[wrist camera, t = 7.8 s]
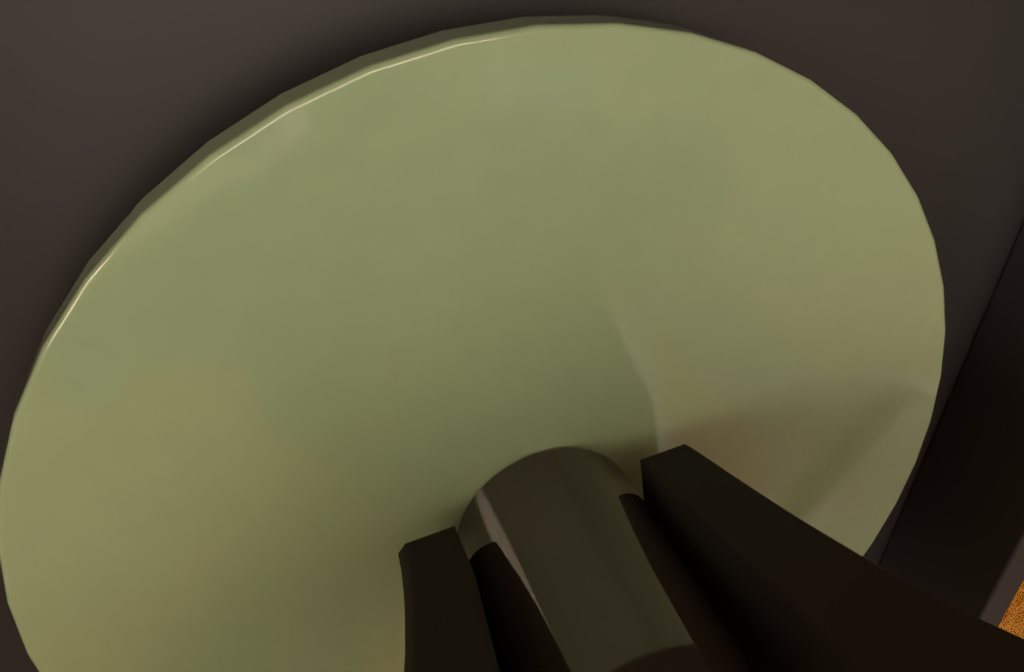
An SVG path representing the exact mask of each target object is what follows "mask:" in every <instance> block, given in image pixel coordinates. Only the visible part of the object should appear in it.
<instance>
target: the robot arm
mask: <svg viewBox="0 0 1024 672" xmlns="http://www.w3.org/2000/svg"><path fill="white" fill-rule="evenodd" d="M640 464H641V475H642V486H643V497H644V502H645V504H646V505H647V506H648V508H649V509H650V511H651V512H652V514H653V515H654V517H655V518H656V520H657V521H658V523H659V524H660V526H661V527H662V528H663V530H664V531H665V533H666V534H667V536H668V537H669V539H670V540H671V542H672V543H673V545H674V546H675V548H676V549H677V550H678V552H679V553H680V555H681V556H682V558H683V559H684V561H685V562H686V564H687V565H688V567H689V568H690V570H691V571H692V572H693V574H694V575H695V577H696V578H697V580H698V581H699V583H700V584H701V586H702V587H703V589H704V590H705V592H706V593H707V595H708V596H709V597H710V599H711V600H712V602H713V603H714V605H715V606H716V608H717V609H718V611H719V612H720V614H721V615H722V617H723V618H724V619H725V621H726V622H727V624H728V625H729V627H730V628H731V630H732V631H733V633H734V634H735V636H736V637H737V639H738V640H739V641H740V643H741V644H742V646H743V647H744V649H745V650H746V652H747V653H748V655H749V656H750V658H751V659H752V661H753V662H754V663H755V665H756V666H757V668H758V669H759V671H760V672H1024V639H1022V638H1020V637H1017V636H1015V635H1013V634H1011V633H1009V632H1007V631H1005V630H1002V629H1000V628H998V627H996V626H994V625H992V624H990V623H988V622H985V621H983V620H981V619H979V618H977V617H975V616H973V615H971V614H969V613H967V612H965V611H963V610H961V609H959V608H957V607H955V606H953V605H951V604H949V603H947V602H945V601H943V600H941V599H940V598H938V597H936V596H934V595H932V594H930V593H928V592H926V591H924V590H922V589H921V588H919V587H917V586H915V585H913V584H911V583H910V582H908V581H906V580H904V579H902V578H900V577H898V576H897V575H895V574H893V573H891V572H889V571H887V570H886V569H884V568H882V567H880V566H879V565H877V564H875V563H873V562H872V561H870V560H868V559H866V558H865V557H863V556H861V555H859V554H858V553H856V552H854V551H852V550H851V549H849V548H848V547H846V546H844V545H843V544H841V543H839V542H838V541H836V540H834V539H833V538H831V537H829V536H828V535H826V534H824V533H823V532H821V531H819V530H818V529H816V528H814V527H813V526H811V525H809V524H808V523H806V522H804V521H803V520H801V519H800V518H798V517H796V516H795V515H793V514H792V513H790V512H788V511H787V510H785V509H784V508H782V507H781V506H779V505H778V504H776V503H774V502H773V501H771V500H770V499H768V498H767V497H765V496H764V495H762V494H761V493H759V492H757V491H756V490H754V489H753V488H751V487H750V486H748V485H747V484H745V483H744V482H742V481H741V480H739V479H738V478H736V477H735V476H733V475H732V474H730V473H729V472H727V471H726V470H724V469H723V468H721V467H720V466H718V465H717V464H715V463H714V462H712V461H711V460H709V459H708V458H706V457H705V456H703V455H702V454H700V453H699V452H697V451H696V450H694V449H693V448H691V447H689V446H687V445H686V444H683V445H680V446H678V447H675V448H672V449H669V450H666V451H664V452H661V453H658V454H655V455H652V456H649V457H647V458H644V459H641V460H640ZM398 557H399V562H400V567H401V573H402V581H403V591H404V608H405V664H404V672H500V668H499V664H498V660H497V657H496V653H495V649H494V645H493V641H492V637H491V634H490V630H489V626H488V622H487V619H486V615H485V611H484V607H483V604H482V600H481V596H480V592H479V589H478V585H477V581H476V578H475V574H474V571H473V569H472V566H471V564H470V562H469V559H468V557H467V554H466V552H465V549H464V547H463V545H462V542H461V540H460V538H459V536H458V533H457V531H456V529H455V526H453V527H450V528H448V529H445V530H442V531H439V532H436V533H434V534H431V535H428V536H425V537H422V538H419V539H417V540H414V541H411V542H408V543H405V545H404V546H403V547H402V549H401V550H400V552H399V553H398Z"/></svg>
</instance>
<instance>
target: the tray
mask: <svg viewBox="0 0 1024 672" xmlns="http://www.w3.org/2000/svg"><path fill="white" fill-rule="evenodd" d="M580 15H604V16H612V17H620V18H627V19H635V20H642V21H650V22H657V23H665V24H672V25H676V26H679V27H682V28H686V29H689V30H692V31H695V32H699V33H702V34H705V35H709V36H712V37H715V38H719V39H722V40H725V41H729V42H732V43H735V44H738V45H741V46H743V47H746V48H749V49H751V50H754V51H756V52H758V53H760V54H762V55H764V56H766V57H768V58H770V59H772V60H774V61H776V62H778V63H780V64H782V65H784V66H786V67H788V68H790V69H792V70H794V71H796V72H798V73H800V74H802V75H804V76H806V77H808V78H810V79H811V80H813V81H814V82H815V83H816V84H818V85H819V86H820V87H822V88H823V89H824V90H826V91H827V92H828V93H830V94H831V95H832V96H834V97H835V98H836V99H838V100H839V101H840V102H842V103H843V104H844V105H846V106H847V107H848V108H849V109H851V110H852V111H853V112H855V113H856V114H857V115H858V116H859V118H860V119H861V120H862V121H863V122H864V123H865V124H866V125H867V126H868V128H869V129H870V130H871V131H872V132H873V133H874V134H875V135H876V136H877V138H878V139H879V140H880V141H881V142H882V143H883V144H884V145H885V146H886V147H887V149H888V150H889V151H890V152H891V154H892V155H893V157H894V158H895V160H896V162H897V163H898V165H899V167H900V168H901V170H902V172H903V173H904V175H905V176H906V178H907V180H908V181H909V183H910V185H911V186H912V188H913V190H914V191H915V193H916V194H917V196H918V199H919V201H920V204H921V206H922V209H923V212H924V214H925V217H926V219H927V222H928V224H929V227H930V230H931V232H932V235H933V237H934V240H935V244H936V249H937V254H938V259H939V264H940V269H941V274H942V279H943V284H944V302H945V326H946V334H945V344H944V354H943V364H942V374H941V380H940V384H939V388H938V393H937V397H936V401H935V406H934V410H933V414H932V419H931V422H930V425H929V428H928V430H927V433H926V436H925V439H924V442H923V444H922V447H921V450H920V453H919V456H918V459H917V461H916V464H915V466H914V468H913V470H912V472H911V474H910V476H909V478H908V480H907V483H906V485H905V487H904V489H903V491H902V493H901V495H900V497H899V499H898V501H897V503H896V505H895V507H894V508H893V510H892V512H891V513H890V515H889V517H888V519H887V520H886V522H885V524H884V525H883V527H882V529H881V530H880V532H879V534H878V535H877V537H876V539H875V540H874V542H873V543H872V545H871V546H870V547H869V549H868V550H867V552H866V553H865V554H864V556H863V557H865V558H866V559H868V560H870V561H872V562H873V563H875V564H877V565H879V566H880V567H882V568H884V569H886V570H887V571H889V572H891V573H893V574H895V575H897V576H898V577H900V578H902V579H904V580H906V581H908V582H910V583H911V584H913V585H915V586H917V587H919V588H921V589H922V590H924V591H926V592H928V593H930V594H932V595H934V596H936V597H938V598H940V599H941V600H943V601H945V602H947V603H949V604H951V605H953V606H955V607H957V608H959V609H961V610H963V611H965V612H967V613H969V614H971V615H973V616H975V617H977V618H979V619H981V620H983V621H985V622H988V623H990V624H992V625H994V626H996V627H998V626H999V624H1000V622H1001V620H1002V618H1003V617H1004V615H1005V613H1006V611H1007V609H1008V607H1009V605H1010V604H1011V602H1012V600H1013V598H1014V596H1015V594H1016V592H1017V591H1018V589H1019V587H1020V585H1021V583H1022V581H1023V580H1024V0H0V473H1V469H2V464H3V460H4V455H5V451H6V446H7V441H8V437H9V432H10V428H11V423H12V419H13V414H14V411H15V408H16V405H17V402H18V399H19V395H20V392H21V390H22V388H23V385H24V383H25V380H26V378H27V376H28V373H29V371H30V368H31V366H32V364H33V361H34V359H35V356H36V354H37V352H38V349H39V347H40V344H41V342H42V339H43V337H44V335H45V332H46V330H47V327H48V326H49V324H50V322H51V321H52V319H53V318H54V316H55V314H56V313H57V311H58V310H59V308H60V306H61V305H62V303H63V302H64V300H65V298H66V297H67V295H68V294H69V292H70V290H71V289H72V287H73V285H74V284H75V282H76V281H77V279H78V277H79V276H80V274H81V273H82V271H83V269H84V268H85V266H86V265H87V263H88V261H89V260H90V259H91V258H92V257H93V255H94V254H95V253H96V252H97V251H98V250H99V248H100V247H101V246H102V245H103V244H104V243H105V241H106V240H107V239H108V238H109V237H110V236H111V234H112V233H113V232H114V231H115V230H116V229H117V228H118V226H119V225H120V224H121V223H122V222H123V221H124V219H125V218H126V217H127V216H128V215H129V214H130V212H131V211H132V210H133V209H134V208H135V207H136V205H137V204H138V203H139V202H140V201H141V200H142V198H144V197H145V196H146V195H147V194H148V193H149V192H150V191H152V190H153V189H154V188H155V187H156V186H157V185H158V184H160V183H161V182H162V181H163V180H164V179H165V178H166V177H168V176H169V175H170V174H171V173H172V172H173V171H175V170H176V169H177V168H178V167H179V166H180V165H181V164H183V163H184V162H185V161H186V160H187V159H188V158H189V157H191V156H192V155H193V154H194V153H195V152H196V151H198V150H199V149H200V148H201V147H202V146H203V145H204V144H206V143H207V142H208V141H209V140H211V139H213V138H214V137H216V136H217V135H219V134H220V133H222V132H223V131H225V130H226V129H228V128H229V127H231V126H232V125H234V124H236V123H237V122H239V121H240V120H242V119H243V118H245V117H246V116H248V115H249V114H251V113H252V112H254V111H255V110H257V109H259V108H260V107H262V106H263V105H265V104H266V103H268V102H269V101H271V100H272V99H274V98H275V97H277V96H279V95H280V94H282V93H284V92H286V91H288V90H290V89H292V88H294V87H297V86H299V85H301V84H303V83H305V82H307V81H309V80H311V79H313V78H316V77H318V76H320V75H322V74H324V73H326V72H328V71H330V70H332V69H335V68H337V67H339V66H341V65H343V64H345V63H347V62H349V61H351V60H354V59H356V58H358V57H360V56H363V55H366V54H369V53H372V52H375V51H379V50H382V49H385V48H388V47H391V46H394V45H398V44H401V43H404V42H407V41H410V40H413V39H417V38H420V37H423V36H426V35H429V34H433V33H436V32H439V31H442V30H447V29H453V28H459V27H465V26H471V25H477V24H483V23H489V22H495V21H501V20H507V19H513V18H519V17H533V16H580ZM0 672H39V671H38V669H37V668H36V666H35V665H34V663H33V662H32V660H31V658H30V657H29V655H28V654H27V651H26V649H25V646H24V644H23V641H22V638H21V636H20V633H19V631H18V628H17V626H16V623H15V620H14V618H13V615H12V613H11V610H10V608H9V605H8V603H7V599H6V593H5V587H4V582H3V576H2V570H1V564H0Z"/></svg>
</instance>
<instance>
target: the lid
mask: <svg viewBox="0 0 1024 672" xmlns="http://www.w3.org/2000/svg"><path fill="white" fill-rule="evenodd" d="M945 334H946V326H945V302H944V284H943V279H942V274H941V269H940V264H939V259H938V254H937V249H936V244H935V240H934V237H933V235H932V232H931V230H930V227H929V224H928V222H927V219H926V217H925V214H924V212H923V209H922V206H921V204H920V201H919V199H918V196H917V194H916V193H915V191H914V190H913V188H912V186H911V185H910V183H909V181H908V180H907V178H906V176H905V175H904V173H903V172H902V170H901V168H900V167H899V165H898V163H897V162H896V160H895V158H894V157H893V155H892V154H891V152H890V151H889V150H888V149H887V147H886V146H885V145H884V144H883V143H882V142H881V141H880V140H879V139H878V138H877V136H876V135H875V134H874V133H873V132H872V131H871V130H870V129H869V128H868V126H867V125H866V124H865V123H864V122H863V121H862V120H861V119H860V118H859V116H858V115H857V114H856V113H855V112H853V111H852V110H851V109H849V108H848V107H847V106H846V105H844V104H843V103H842V102H840V101H839V100H838V99H836V98H835V97H834V96H832V95H831V94H830V93H828V92H827V91H826V90H824V89H823V88H822V87H820V86H819V85H818V84H816V83H815V82H814V81H813V80H811V79H810V78H808V77H806V76H804V75H802V74H800V73H798V72H796V71H794V70H792V69H790V68H788V67H786V66H784V65H782V64H780V63H778V62H776V61H774V60H772V59H770V58H768V57H766V56H764V55H762V54H760V53H758V52H756V51H754V50H751V49H749V48H746V47H743V46H741V45H738V44H735V43H732V42H729V41H725V40H722V39H719V38H715V37H712V36H709V35H705V34H702V33H699V32H695V31H692V30H689V29H686V28H682V27H679V26H676V25H672V24H665V23H657V22H650V21H642V20H635V19H627V18H620V17H612V16H604V15H580V16H533V17H519V18H513V19H507V20H501V21H495V22H489V23H483V24H477V25H471V26H465V27H459V28H453V29H447V30H442V31H439V32H436V33H433V34H429V35H426V36H423V37H420V38H417V39H413V40H410V41H407V42H404V43H401V44H398V45H394V46H391V47H388V48H385V49H382V50H379V51H375V52H372V53H369V54H366V55H363V56H360V57H358V58H356V59H354V60H351V61H349V62H347V63H345V64H343V65H341V66H339V67H337V68H335V69H332V70H330V71H328V72H326V73H324V74H322V75H320V76H318V77H316V78H313V79H311V80H309V81H307V82H305V83H303V84H301V85H299V86H297V87H294V88H292V89H290V90H288V91H286V92H284V93H282V94H280V95H279V96H277V97H275V98H274V99H272V100H271V101H269V102H268V103H266V104H265V105H263V106H262V107H260V108H259V109H257V110H255V111H254V112H252V113H251V114H249V115H248V116H246V117H245V118H243V119H242V120H240V121H239V122H237V123H236V124H234V125H232V126H231V127H229V128H228V129H226V130H225V131H223V132H222V133H220V134H219V135H217V136H216V137H214V138H213V139H211V140H209V141H208V142H207V143H206V144H204V145H203V146H202V147H201V148H200V149H199V150H198V151H196V152H195V153H194V154H193V155H192V156H191V157H189V158H188V159H187V160H186V161H185V162H184V163H183V164H181V165H180V166H179V167H178V168H177V169H176V170H175V171H173V172H172V173H171V174H170V175H169V176H168V177H166V178H165V179H164V180H163V181H162V182H161V183H160V184H158V185H157V186H156V187H155V188H154V189H153V190H152V191H150V192H149V193H148V194H147V195H146V196H145V197H144V198H142V200H141V201H140V202H139V203H138V204H137V205H136V207H135V208H134V209H133V210H132V211H131V212H130V214H129V215H128V216H127V217H126V218H125V219H124V221H123V222H122V223H121V224H120V225H119V226H118V228H117V229H116V230H115V231H114V232H113V233H112V234H111V236H110V237H109V238H108V239H107V240H106V241H105V243H104V244H103V245H102V246H101V247H100V248H99V250H98V251H97V252H96V253H95V254H94V255H93V257H92V258H91V259H90V260H89V261H88V263H87V265H86V266H85V268H84V269H83V271H82V273H81V274H80V276H79V277H78V279H77V281H76V282H75V284H74V285H73V287H72V289H71V290H70V292H69V294H68V295H67V297H66V298H65V300H64V302H63V303H62V305H61V306H60V308H59V310H58V311H57V313H56V314H55V316H54V318H53V319H52V321H51V322H50V324H49V326H48V327H47V330H46V332H45V335H44V337H43V339H42V342H41V344H40V347H39V349H38V352H37V354H36V356H35V359H34V361H33V364H32V366H31V368H30V371H29V373H28V376H27V378H26V380H25V383H24V385H23V388H22V390H21V392H20V395H19V399H18V402H17V405H16V408H15V411H14V414H13V419H12V423H11V428H10V432H9V437H8V441H7V446H6V451H5V455H4V460H3V464H2V469H1V473H0V564H1V570H2V576H3V582H4V587H5V593H6V599H7V603H8V605H9V608H10V610H11V613H12V615H13V618H14V620H15V623H16V626H17V628H18V631H19V633H20V636H21V638H22V641H23V644H24V646H25V649H26V651H27V654H28V655H29V657H30V658H31V660H32V662H33V663H34V665H35V666H36V668H37V669H38V671H39V672H404V664H405V608H404V591H403V581H402V573H401V567H400V562H399V557H398V553H399V552H400V550H401V549H402V547H403V546H404V545H405V543H408V542H411V541H414V540H417V539H419V538H422V537H425V536H428V535H431V534H434V533H436V532H439V531H442V530H445V529H448V528H450V527H453V526H455V529H456V531H457V533H458V536H459V538H460V540H461V542H462V545H463V547H464V549H465V552H466V554H467V557H468V559H469V562H470V564H471V566H472V569H473V571H474V574H475V578H476V581H477V585H478V589H479V592H480V596H481V600H482V604H483V607H484V611H485V615H486V619H487V622H488V626H489V630H490V634H491V637H492V641H493V645H494V649H495V653H496V657H497V660H498V664H499V668H500V672H760V671H759V669H758V668H757V666H756V665H755V663H754V662H753V661H752V659H751V658H750V656H749V655H748V653H747V652H746V650H745V649H744V647H743V646H742V644H741V643H740V641H739V640H738V639H737V637H736V636H735V634H734V633H733V631H732V630H731V628H730V627H729V625H728V624H727V622H726V621H725V619H724V618H723V617H722V615H721V614H720V612H719V611H718V609H717V608H716V606H715V605H714V603H713V602H712V600H711V599H710V597H709V596H708V595H707V593H706V592H705V590H704V589H703V587H702V586H701V584H700V583H699V581H698V580H697V578H696V577H695V575H694V574H693V572H692V571H691V570H690V568H689V567H688V565H687V564H686V562H685V561H684V559H683V558H682V556H681V555H680V553H679V552H678V550H677V549H676V548H675V546H674V545H673V543H672V542H671V540H670V539H669V537H668V536H667V534H666V533H665V531H664V530H663V528H662V527H661V526H660V524H659V523H658V521H657V520H656V518H655V517H654V515H653V514H652V512H651V511H650V509H649V508H648V506H647V505H646V504H645V502H644V497H643V486H642V475H641V464H640V460H641V459H644V458H647V457H649V456H652V455H655V454H658V453H661V452H664V451H666V450H669V449H672V448H675V447H678V446H680V445H683V444H686V445H687V446H689V447H691V448H693V449H694V450H696V451H697V452H699V453H700V454H702V455H703V456H705V457H706V458H708V459H709V460H711V461H712V462H714V463H715V464H717V465H718V466H720V467H721V468H723V469H724V470H726V471H727V472H729V473H730V474H732V475H733V476H735V477H736V478H738V479H739V480H741V481H742V482H744V483H745V484H747V485H748V486H750V487H751V488H753V489H754V490H756V491H757V492H759V493H761V494H762V495H764V496H765V497H767V498H768V499H770V500H771V501H773V502H774V503H776V504H778V505H779V506H781V507H782V508H784V509H785V510H787V511H788V512H790V513H792V514H793V515H795V516H796V517H798V518H800V519H801V520H803V521H804V522H806V523H808V524H809V525H811V526H813V527H814V528H816V529H818V530H819V531H821V532H823V533H824V534H826V535H828V536H829V537H831V538H833V539H834V540H836V541H838V542H839V543H841V544H843V545H844V546H846V547H848V548H849V549H851V550H852V551H854V552H856V553H858V554H859V555H861V556H864V554H865V553H866V552H867V550H868V549H869V547H870V546H871V545H872V543H873V542H874V540H875V539H876V537H877V535H878V534H879V532H880V530H881V529H882V527H883V525H884V524H885V522H886V520H887V519H888V517H889V515H890V513H891V512H892V510H893V508H894V507H895V505H896V503H897V501H898V499H899V497H900V495H901V493H902V491H903V489H904V487H905V485H906V483H907V480H908V478H909V476H910V474H911V472H912V470H913V468H914V466H915V464H916V461H917V459H918V456H919V453H920V450H921V447H922V444H923V442H924V439H925V436H926V433H927V430H928V428H929V425H930V422H931V419H932V414H933V410H934V406H935V401H936V397H937V393H938V388H939V384H940V380H941V374H942V364H943V354H944V344H945Z"/></svg>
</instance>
